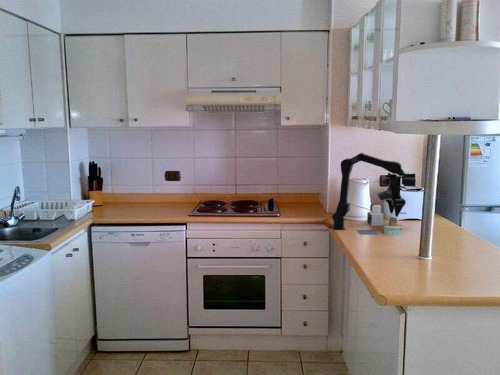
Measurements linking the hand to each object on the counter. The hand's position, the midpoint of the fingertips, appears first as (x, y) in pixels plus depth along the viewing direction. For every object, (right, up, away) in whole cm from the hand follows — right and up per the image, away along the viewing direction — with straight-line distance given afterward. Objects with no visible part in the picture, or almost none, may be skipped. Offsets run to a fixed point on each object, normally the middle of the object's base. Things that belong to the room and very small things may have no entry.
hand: (393, 214), depth 232 cm
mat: (-13, -10, +4) cm, 17 cm away
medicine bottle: (-4, -7, +23) cm, 24 cm away
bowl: (0, -10, +2) cm, 10 cm away
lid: (0, -6, +1) cm, 6 cm away
